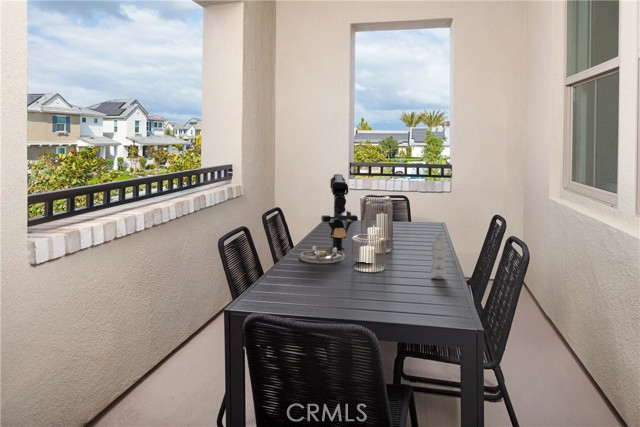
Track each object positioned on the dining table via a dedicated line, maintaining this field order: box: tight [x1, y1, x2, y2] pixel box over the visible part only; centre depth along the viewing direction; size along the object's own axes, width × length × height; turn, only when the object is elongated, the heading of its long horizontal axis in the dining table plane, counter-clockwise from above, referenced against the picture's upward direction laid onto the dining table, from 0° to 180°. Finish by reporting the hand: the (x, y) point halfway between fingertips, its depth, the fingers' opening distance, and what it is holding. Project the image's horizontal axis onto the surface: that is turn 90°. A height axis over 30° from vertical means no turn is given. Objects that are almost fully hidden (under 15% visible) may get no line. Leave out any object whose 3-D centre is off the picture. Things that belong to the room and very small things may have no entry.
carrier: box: [299, 245, 346, 265], centre depth 253 cm, size 23×23×5 cm
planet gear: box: [332, 228, 347, 239], centre depth 255 cm, size 7×7×4 cm
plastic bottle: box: [430, 233, 448, 280], centre depth 213 cm, size 6×7×20 cm
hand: (339, 234), depth 255 cm, fingers closed on planet gear, 7 cm apart
